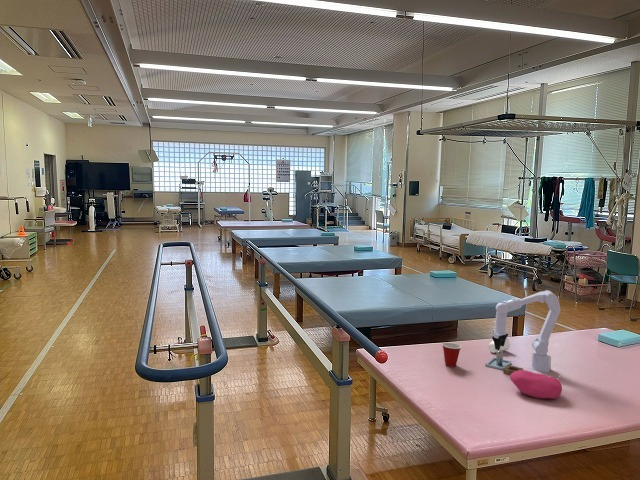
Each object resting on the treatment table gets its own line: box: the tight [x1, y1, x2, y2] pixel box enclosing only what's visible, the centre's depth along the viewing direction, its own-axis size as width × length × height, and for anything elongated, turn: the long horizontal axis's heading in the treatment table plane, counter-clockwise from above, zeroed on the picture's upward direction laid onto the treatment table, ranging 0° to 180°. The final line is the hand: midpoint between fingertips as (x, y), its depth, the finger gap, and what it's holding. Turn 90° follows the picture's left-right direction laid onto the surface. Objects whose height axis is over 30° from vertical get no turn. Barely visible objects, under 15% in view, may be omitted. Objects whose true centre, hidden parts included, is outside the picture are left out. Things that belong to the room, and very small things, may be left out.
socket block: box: [502, 364, 524, 376], centre depth 252 cm, size 8×8×3 cm
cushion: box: [509, 369, 563, 400], centre depth 227 cm, size 23×19×10 cm
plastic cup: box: [441, 342, 462, 368], centre depth 263 cm, size 11×11×12 cm
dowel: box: [495, 350, 504, 366], centre depth 263 cm, size 3×3×8 cm
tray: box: [485, 357, 512, 371], centre depth 263 cm, size 10×14×2 cm
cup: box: [487, 337, 511, 354], centre depth 286 cm, size 10×10×11 cm
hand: (499, 347), depth 262 cm, fingers open, 7 cm apart
